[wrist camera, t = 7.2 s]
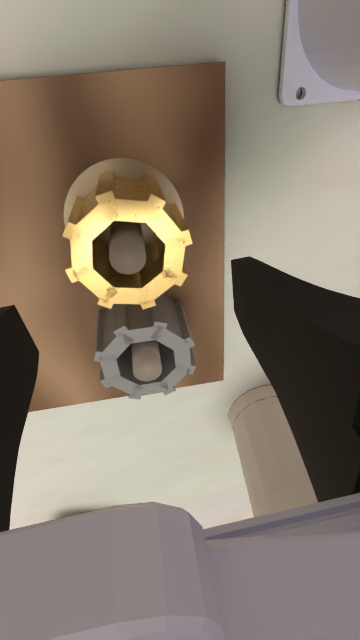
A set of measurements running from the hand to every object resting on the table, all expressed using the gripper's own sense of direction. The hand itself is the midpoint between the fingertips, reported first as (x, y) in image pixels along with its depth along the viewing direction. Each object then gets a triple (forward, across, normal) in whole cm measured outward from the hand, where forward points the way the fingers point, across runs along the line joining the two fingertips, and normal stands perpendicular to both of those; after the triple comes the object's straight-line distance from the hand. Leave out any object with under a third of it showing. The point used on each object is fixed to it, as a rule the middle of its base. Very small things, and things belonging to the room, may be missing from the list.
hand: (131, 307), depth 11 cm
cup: (+10, -8, +20) cm, 24 cm away
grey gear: (+9, 0, +7) cm, 11 cm away
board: (+10, +3, +3) cm, 11 cm away
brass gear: (+9, 0, 0) cm, 9 cm away
